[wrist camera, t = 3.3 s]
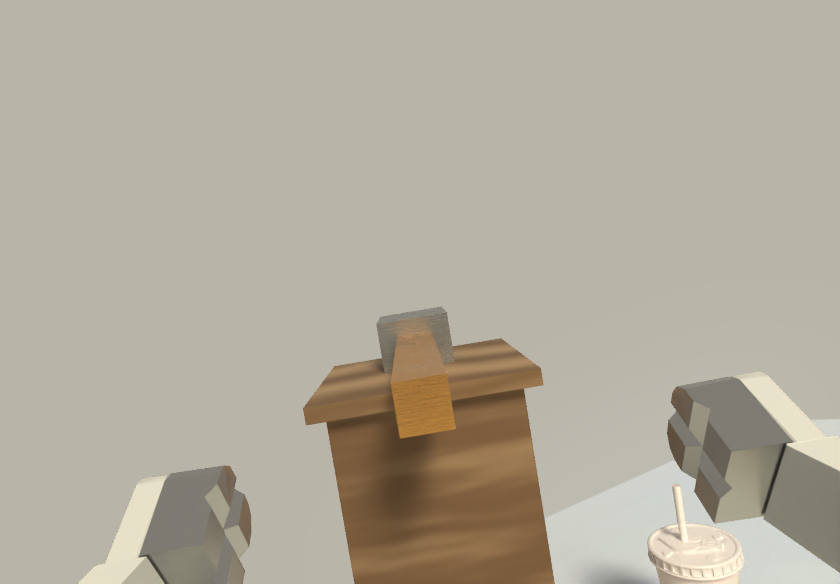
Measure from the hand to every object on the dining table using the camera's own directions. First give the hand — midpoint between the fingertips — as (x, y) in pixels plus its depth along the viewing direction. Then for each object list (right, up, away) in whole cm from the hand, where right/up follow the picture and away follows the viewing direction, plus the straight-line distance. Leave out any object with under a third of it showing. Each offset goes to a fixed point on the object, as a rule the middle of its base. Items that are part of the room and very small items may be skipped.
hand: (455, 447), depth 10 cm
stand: (+4, -28, +31) cm, 42 cm away
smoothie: (+21, -25, +32) cm, 46 cm away
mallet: (-1, -3, +25) cm, 26 cm away
